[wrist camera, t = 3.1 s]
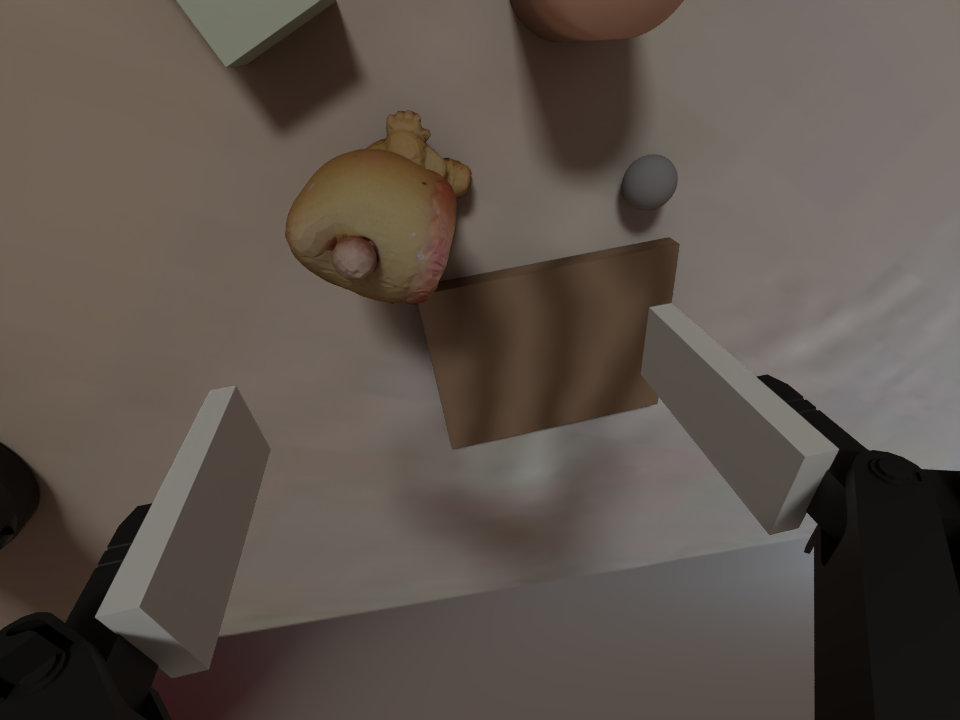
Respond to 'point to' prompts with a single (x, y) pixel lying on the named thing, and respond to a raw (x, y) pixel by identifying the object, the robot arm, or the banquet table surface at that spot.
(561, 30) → the brown rounded cylinder
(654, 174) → the ball
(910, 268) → the banquet table surface
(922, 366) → the banquet table surface
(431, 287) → the figurine
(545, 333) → the board
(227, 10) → the block
